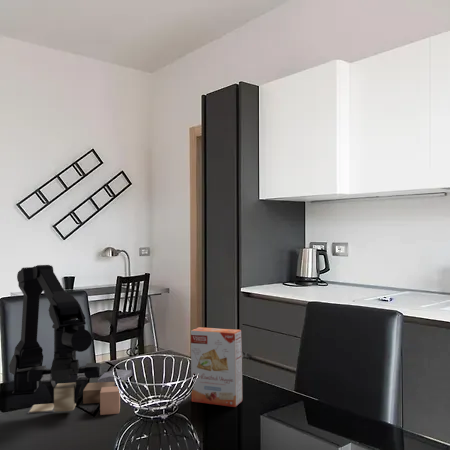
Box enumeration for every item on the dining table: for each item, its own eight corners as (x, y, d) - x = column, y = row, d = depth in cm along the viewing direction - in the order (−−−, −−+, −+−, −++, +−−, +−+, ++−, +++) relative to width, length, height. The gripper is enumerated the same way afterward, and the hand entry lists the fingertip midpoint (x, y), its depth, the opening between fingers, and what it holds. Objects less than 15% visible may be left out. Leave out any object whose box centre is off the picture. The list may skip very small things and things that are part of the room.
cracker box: (190, 402, 139) (189, 329, 140) (199, 396, 144) (198, 326, 145) (235, 408, 133) (234, 332, 134) (243, 401, 139) (241, 328, 140)
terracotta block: (100, 415, 130) (100, 392, 130) (101, 408, 135) (101, 387, 135) (119, 413, 131) (119, 391, 131) (120, 407, 136) (119, 386, 136)
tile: (27, 413, 132) (27, 412, 132) (32, 405, 138) (32, 404, 138) (53, 411, 133) (53, 410, 133) (57, 404, 139) (57, 402, 139)
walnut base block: (83, 404, 140) (83, 390, 140) (88, 396, 148) (88, 382, 148) (111, 403, 140) (111, 389, 141) (114, 394, 148) (114, 381, 149)
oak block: (54, 411, 128) (54, 388, 128) (57, 405, 133) (57, 383, 133) (73, 410, 129) (73, 387, 129) (76, 404, 134) (76, 382, 134)
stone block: (96, 395, 154) (126, 388, 154) (93, 380, 154) (123, 373, 154) (106, 385, 166) (134, 379, 166) (103, 371, 166) (131, 365, 166)
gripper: (21, 354, 122) (21, 416, 121) (97, 350, 125) (97, 411, 125) (31, 345, 133) (31, 402, 132) (101, 342, 136) (101, 398, 135)
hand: (65, 403), depth 131 cm, fingers closed on oak block, 5 cm apart
